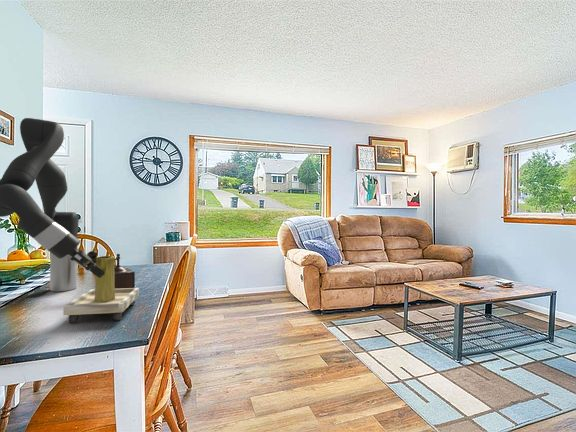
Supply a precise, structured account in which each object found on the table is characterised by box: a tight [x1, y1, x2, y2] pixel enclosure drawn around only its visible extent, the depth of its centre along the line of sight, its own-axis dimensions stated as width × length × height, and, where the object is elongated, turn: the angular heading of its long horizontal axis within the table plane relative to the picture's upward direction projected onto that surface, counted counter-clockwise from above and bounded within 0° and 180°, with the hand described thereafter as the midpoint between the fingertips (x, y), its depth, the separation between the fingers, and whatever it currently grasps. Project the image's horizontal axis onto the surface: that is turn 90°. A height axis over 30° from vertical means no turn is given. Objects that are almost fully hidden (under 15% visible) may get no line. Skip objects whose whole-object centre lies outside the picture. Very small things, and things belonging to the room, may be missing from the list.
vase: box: [94, 255, 116, 302], centre depth 101 cm, size 6×6×14 cm
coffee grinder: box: [86, 250, 136, 289], centre depth 124 cm, size 16×11×18 cm
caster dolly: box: [62, 287, 140, 324], centre depth 101 cm, size 20×16×6 cm
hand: (100, 273), depth 100 cm, fingers open, 8 cm apart
